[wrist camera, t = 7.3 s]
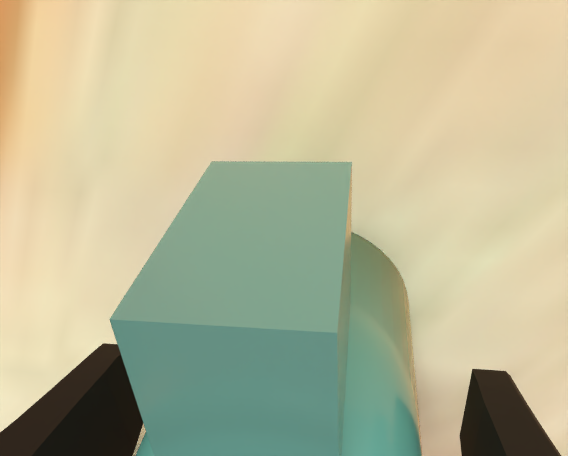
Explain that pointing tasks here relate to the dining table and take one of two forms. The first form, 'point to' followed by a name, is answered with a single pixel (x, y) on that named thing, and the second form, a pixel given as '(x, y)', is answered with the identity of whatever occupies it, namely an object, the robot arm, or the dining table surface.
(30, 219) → the dining table surface
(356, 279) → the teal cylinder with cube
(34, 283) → the dining table surface
